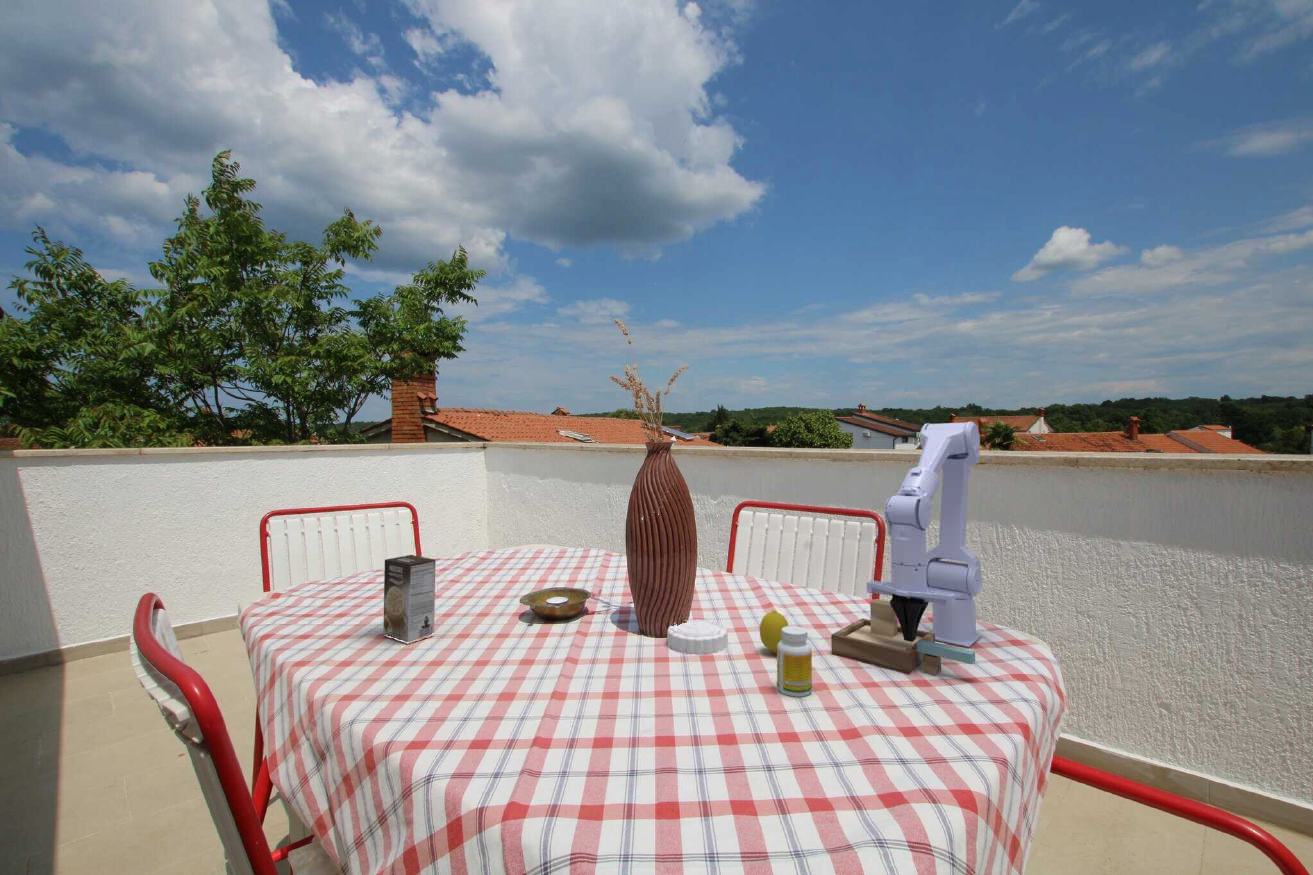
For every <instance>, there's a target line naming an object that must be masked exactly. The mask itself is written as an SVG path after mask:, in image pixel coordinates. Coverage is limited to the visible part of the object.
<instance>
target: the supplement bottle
mask: <svg viewBox="0 0 1313 875" xmlns="http://www.w3.org/2000/svg"><path fill="white" fill-rule="evenodd" d="M781 637H782V639H783V640H781V641H780V642H779V643H778V645H777V653H776V672H777V673H776V683H777V687H776V688H777V690H778V691H779V692H780V693H782V694H784V695H786V696H790V697H796V698H801V697H802V698H803V697H807V696H809V695H810V694H811V693H812V690H813V689H812V688H813V687H812V685H813V684H812V683H813V679H812V678H813V676H812V675H813V673H812V672H813V669H812V667H813V666H812V664H813V662H812V660H813V659H812V657H813V655H812V653H813V650H812V646H811V644H809V642H807V640H808V630H807V629H806V628H804V627H803V626H802V627H801V626H796V625H793V626H792V625H789V626H786V627H783V628H782V632H781Z"/></svg>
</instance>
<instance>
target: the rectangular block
mask: <svg viewBox="0 0 1313 875" xmlns="http://www.w3.org/2000/svg"><path fill="white" fill-rule="evenodd" d="M917 652H921V653H925V654H930V655H934V656H938V657H941V659H942V658H943V659H946V660H947V659H948V660H951V661H956V662H958V663H959V662H960V663H963V664H969V665H973V664H974V663H975V662H976V651H974V650H970V649H965V648H961V647H956V646H953V645H948V644H943V643H939V642H936V641H935V642H930V641H926V640H920V641H918V642H917Z"/></svg>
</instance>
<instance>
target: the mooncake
mask: <svg viewBox="0 0 1313 875" xmlns="http://www.w3.org/2000/svg"><path fill="white" fill-rule="evenodd" d="M686 621H687V622H686V623H682V624H680V625H678V626H677V624H676V625H674V626H671V625H669V626H668V629H667V631H666V638H667V639H666V641H667V642H666V643H667V645H668V648H671V649H672V650H673V651H677V652H678V653H682V654H683V653H684V654H687V655H696V656H699V655H700V654H701V655H711V654H717V653H719V652H723V651H724V650H725V649H726V648H725V647H727V648H728V639H729V638H728V629H727V628H726V627H725V626H724V625H721V623H718V622H714V621H710V620H708V619H707V620H706V619H692V620H691V619H690V620H686ZM722 650H723V651H722ZM701 655H700V656H701Z"/></svg>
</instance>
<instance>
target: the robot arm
mask: <svg viewBox="0 0 1313 875" xmlns="http://www.w3.org/2000/svg"><path fill="white" fill-rule="evenodd" d="M980 435H981V434H980V432H979V427H978V426H977V425H976V423H975V422H973V421H968V422H950V423H949V422H948V423H947V422H946V423H929V422H928V423H924V425H922V428H921V429H920V432H919V443H920V447H921V450H922V451H921V455H920V456H919V461H918V463H917V466H916V467H912V468H911V469H909V470H908V471H907V474H906V476H904V479H903V480H902V481H903V482H902V483H901V485H900V488H899V490H898V491H897V494H895V495H892V496H891V497H888V498H887V499H886V500H885V501H886V502H885V505H884V510H883V517H884V520H885V523H886V526H887V528H886V530H887V536H889V537H890V559H891V560H890V567H891V568H890V569H891V574H890V575H891V576H890V577H891V582H889V581H877V580H869V581H866V594H867V593H869V594H879V595H886V596H891V599H890V600H889V601H890V605H891V607H892V608H893V610H894V612H895V614H896V616H897V621H898V623H899V626H901V629H902V633H903V637H904V640H905V641H910V642H913V641H914V640H916V634H917V630H919V625H920V622H921V619H922V617H923V615H924V613H925V611H926V609H927V607H928V606H929V604H930V603H932V631H931V632H929V633H934V634H935V641H938V642H943V643H947V644H953V645H957V646H960V647H961V646H962V647H966V648H970V647H972V645H973V644H975V643H976V642H977V641H978V640H980V638H981V637H982V633H979V632H977V614H976V611H977V610H976V608H977V607H976V603H975V600H974V597H976V596H978V595H979V594H980V592H981V590H982V586H983V574H982V570H981V569H982V568H981V560H980V558H979V557H978V555H976V554H975V553H974V552H972V551H971V550H970V549H969V548H967V547H966V542H967V540H966V538H967V522H968V521H967V520H968V498H969V496H968V495H969V494H968V492H969V477H970V470H971V467H972V466H975V465H977V464H978V463H979V457H980V447H981V446H980V445H981V444H980V443H981V437H980ZM940 470H942V478H941V482H942V483H940V477H939V476H938V474H939V472H940ZM940 484H941V497H940V498H941V499H940V514H939V515H940V517H939V518H940V519H939V537H938V540H939V541H938V545H936V546H935V547H933V548H931V549H929V550H928V551H927V537H926V536H927V535H926V534H927V531H926V530H927V529H928V528H929V526H930V525H931V521H932V511H933V507H934V505H933V499H934V497H935V495H936V492H937V490H938V489H939V485H940ZM942 559H943V560H942ZM947 560H952V561H947ZM955 561H959V562H955ZM962 562H964V563H962Z"/></svg>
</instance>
